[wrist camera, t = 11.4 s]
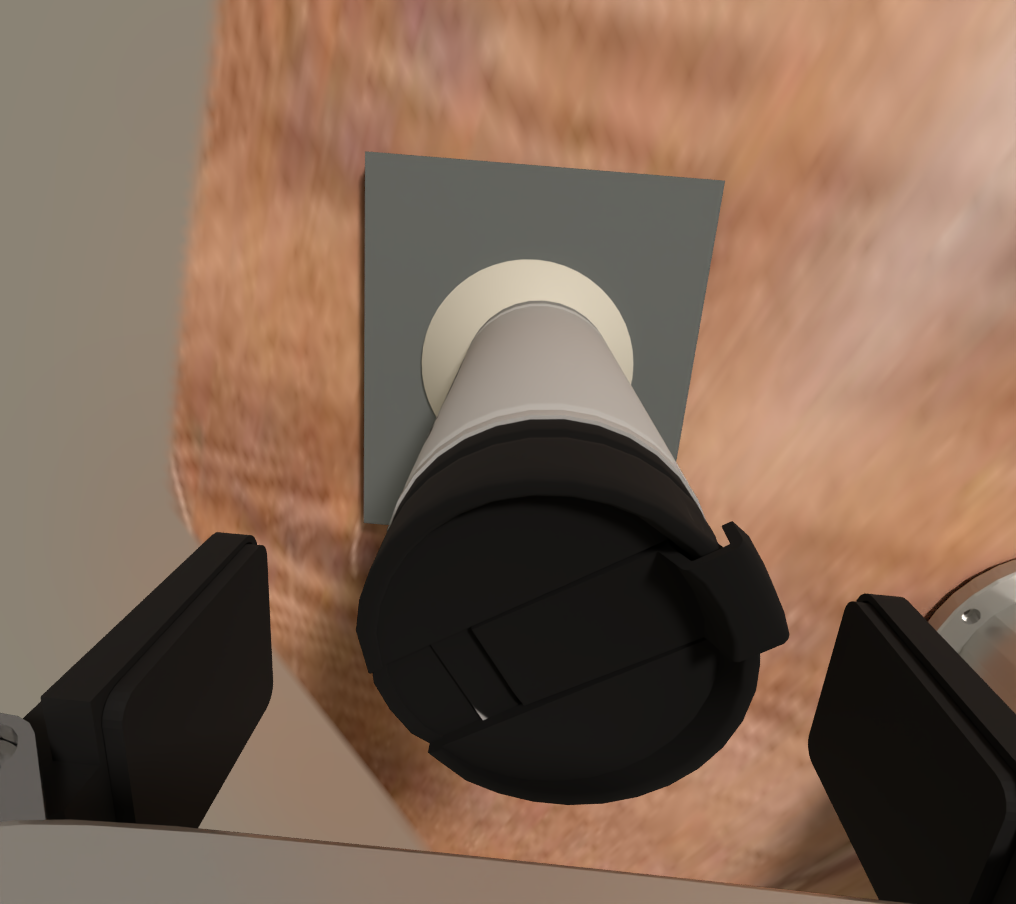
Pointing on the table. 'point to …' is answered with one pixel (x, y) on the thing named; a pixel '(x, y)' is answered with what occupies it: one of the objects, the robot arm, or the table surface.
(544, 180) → the mat
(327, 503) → the table surface
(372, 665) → the travel mug
